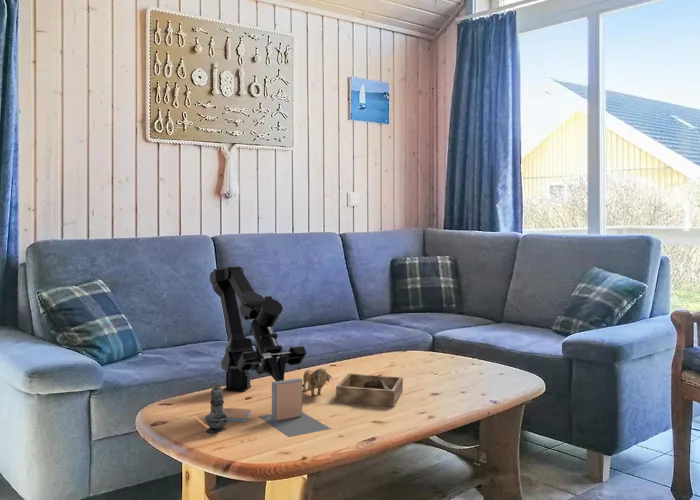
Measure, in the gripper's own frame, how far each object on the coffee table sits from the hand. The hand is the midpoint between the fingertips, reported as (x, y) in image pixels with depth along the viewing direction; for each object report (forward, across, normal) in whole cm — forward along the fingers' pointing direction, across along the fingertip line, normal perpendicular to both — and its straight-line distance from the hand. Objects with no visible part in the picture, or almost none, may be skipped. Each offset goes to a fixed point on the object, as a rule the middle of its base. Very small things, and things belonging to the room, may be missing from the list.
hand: (281, 384), depth 178 cm
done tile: (+3, +13, -10) cm, 17 cm away
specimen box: (+3, -31, -9) cm, 32 cm away
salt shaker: (+8, +19, -5) cm, 21 cm away
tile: (+8, 0, -4) cm, 9 cm away
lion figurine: (-4, -18, -16) cm, 24 cm away
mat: (+11, 0, -1) cm, 11 cm away
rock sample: (+4, -34, -9) cm, 35 cm away
